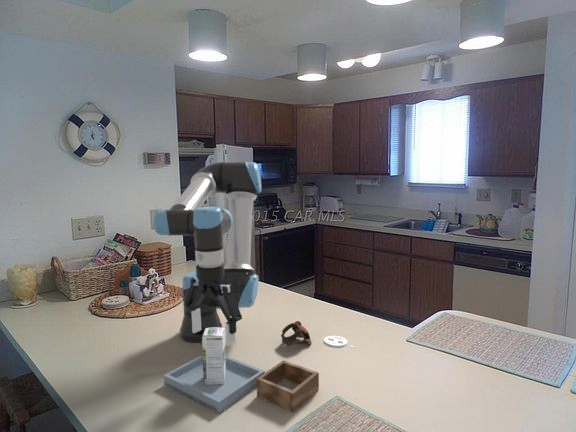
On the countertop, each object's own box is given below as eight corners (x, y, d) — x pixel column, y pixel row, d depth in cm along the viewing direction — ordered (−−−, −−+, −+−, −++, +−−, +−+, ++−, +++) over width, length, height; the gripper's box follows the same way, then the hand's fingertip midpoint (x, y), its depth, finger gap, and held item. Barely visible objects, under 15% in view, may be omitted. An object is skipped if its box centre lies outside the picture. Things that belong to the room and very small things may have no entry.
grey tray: (164, 385, 114) (163, 375, 113) (211, 359, 128) (211, 350, 127) (219, 413, 101) (218, 402, 100) (264, 380, 115) (264, 371, 115)
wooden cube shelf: (257, 396, 108) (256, 378, 107) (283, 376, 117) (283, 360, 117) (293, 412, 101) (293, 393, 100) (318, 389, 110) (318, 372, 110)
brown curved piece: (314, 351, 133) (302, 333, 130) (288, 361, 135) (277, 344, 132) (312, 327, 144) (302, 311, 141) (289, 337, 146) (278, 321, 143)
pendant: (329, 336, 144) (329, 334, 144) (358, 343, 138) (358, 341, 138) (320, 343, 138) (320, 341, 138) (349, 351, 132) (349, 349, 132)
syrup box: (206, 374, 117) (204, 327, 115) (226, 373, 117) (224, 326, 115) (203, 385, 111) (200, 336, 109) (224, 384, 111) (222, 335, 109)
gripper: (169, 260, 114) (173, 331, 117) (233, 275, 99) (236, 355, 102) (190, 254, 120) (193, 322, 123) (253, 268, 105) (255, 344, 108)
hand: (213, 337), depth 113 cm, fingers open, 13 cm apart
